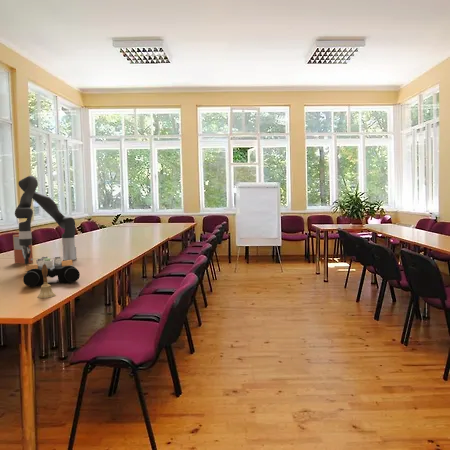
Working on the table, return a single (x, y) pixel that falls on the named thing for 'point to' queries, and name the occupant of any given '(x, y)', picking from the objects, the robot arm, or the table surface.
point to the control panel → (20, 251)
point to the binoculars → (51, 275)
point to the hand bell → (45, 285)
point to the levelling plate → (49, 263)
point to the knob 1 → (35, 265)
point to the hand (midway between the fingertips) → (26, 263)
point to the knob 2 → (61, 262)
